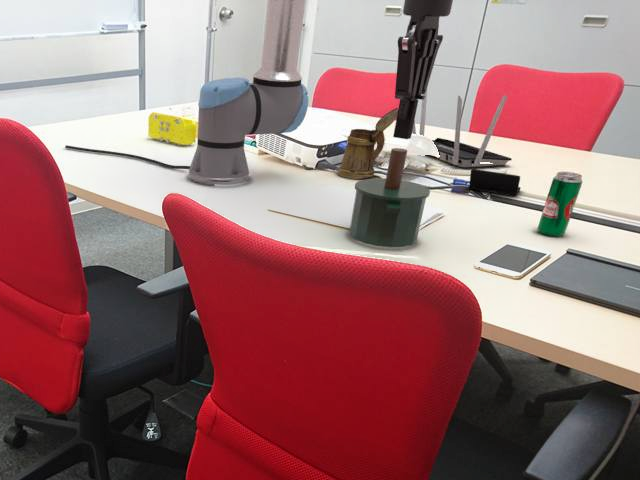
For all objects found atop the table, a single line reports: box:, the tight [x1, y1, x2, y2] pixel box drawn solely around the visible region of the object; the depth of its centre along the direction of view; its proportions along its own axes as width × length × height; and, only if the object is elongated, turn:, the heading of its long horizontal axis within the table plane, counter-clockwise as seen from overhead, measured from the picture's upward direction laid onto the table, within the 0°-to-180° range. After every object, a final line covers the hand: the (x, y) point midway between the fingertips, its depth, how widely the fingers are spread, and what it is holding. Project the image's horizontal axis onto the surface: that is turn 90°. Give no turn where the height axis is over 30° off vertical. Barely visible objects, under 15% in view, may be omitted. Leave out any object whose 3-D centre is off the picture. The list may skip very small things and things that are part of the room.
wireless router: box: [412, 88, 513, 168], centre depth 185 cm, size 34×23×20 cm
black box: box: [468, 168, 521, 197], centre depth 159 cm, size 12×7×10 cm
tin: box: [348, 190, 427, 248], centre depth 126 cm, size 13×18×10 cm
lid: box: [354, 147, 431, 201], centre depth 122 cm, size 14×14×8 cm
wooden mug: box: [337, 107, 399, 180], centre depth 166 cm, size 9×14×18 cm, turn 36°
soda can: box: [536, 171, 583, 238], centre depth 130 cm, size 5×5×12 cm
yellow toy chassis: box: [147, 111, 197, 147], centre depth 202 cm, size 16×6×8 cm, turn 43°
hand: (401, 137), depth 119 cm, fingers closed
